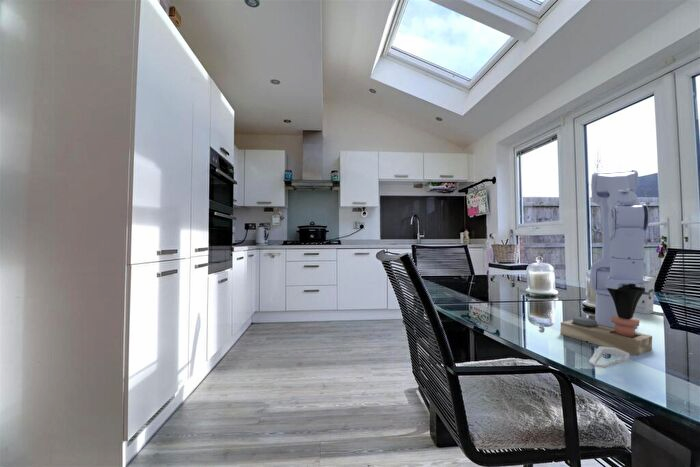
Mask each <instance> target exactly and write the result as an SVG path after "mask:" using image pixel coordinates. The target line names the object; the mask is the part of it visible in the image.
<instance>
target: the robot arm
mask: <svg viewBox="0 0 700 467" xmlns="http://www.w3.org/2000/svg"><path fill="white" fill-rule="evenodd" d="M638 184H639V172H638V171H637V170H636V169H635V168H633V169H630V170H629V169H628V170H614V171H603V172H602V171H601V172H600V171H599V172H598V171H594V173H593V174H591V184H590V188H591V189H590V190H591V200H592V203H594V204H595V205H598V206H599V207H600V211H601V225H602V226H601V229H602V230H601V231H602V232H601V234H602V237H601V238H602V240H601V242H602V243H601V244H602V245H601V246H602V258H601V259H599V260H597V261H595V262H593V263H592V264H591V266H590V272H589V273H590V274H589V288H590V290H591V291H592V292H595V307H594V308H595V314H594V317H595V318H594V320H596V321H597V323H598V324H602V325H607V326H611V327H615V323H613V322H611V316H618V317H620V318H625V319H632V318H634V316H635V315H634V314H635V312H634V311H635V308H636V305H637V303H638V301H639V299H640V297H641V296H642V294H643V293H644V292H645V288H642V287H638V284H641V285H645V283H650V280H646V279H645V276H644V267H645V266H644V259H645V232H646V231H647V230H648V228H649V225H650V224H649V223H650V211H649V207H648V204H641V202H640V200H639V198H638V195H637V194H636V191H637V189H638ZM634 319H635V318H634ZM637 327H639V326H635V328H637Z"/></svg>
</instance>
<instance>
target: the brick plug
mask: <svg viewBox="0 0 700 467" xmlns="http://www.w3.org/2000/svg"><path fill="white" fill-rule="evenodd" d="M611 322H613V323H615V334H617V335H621V336H625V337H635V331H636V330H635V329H636V327H635V326H638V327H639V326H640V320H639V319H637V318H632V319H625V318H620V317H618V316H611Z"/></svg>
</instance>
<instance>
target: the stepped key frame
mask: <svg viewBox="0 0 700 467" xmlns="http://www.w3.org/2000/svg"><path fill="white" fill-rule="evenodd" d="M604 354H606V355H607V354H608V355H609V354H610V355H614V356H615V355H616V356H618V357H617V358H616V359H614V358H612V360H608V361H607V362H605V363H602V364H597V362H598V361H599V360H600V358H601V357H602V356H603V355H604ZM629 360H630V354H629V353H627V352H625V351H622V350H620V349H617V348H613V347H604V346H600V345H598V347H597V349H595V352H594V353H593V354H592V356H591V357H590V359H589V360H588V364H590V365H591V366H594V367H597V368H603V369H606V368H608V367H611V365H613V366H614V365H615V364H621V363H622V362H624V363H628V361H629Z"/></svg>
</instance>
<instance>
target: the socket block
mask: <svg viewBox="0 0 700 467" xmlns="http://www.w3.org/2000/svg"><path fill="white" fill-rule="evenodd" d="M559 333H560V335H562V336H565V337H569V338H573V339H576V340H580V341H583V342H586V341H588V342H587V343H590V344H594V345H597V346H601V347H613V348H617V349H620V350H622V351H625V352H627V353H629V355H632V356H636V357H637V356H639V355H642V354H644V353H647V352H649V351H652V349H653V335H649V334H645V333H641V332H637V331H636V332H635V337H625V336H621V335H617V334H615V327H611V326H607V325H602V324H598V323H597V326H594V327H592V328H588V327H584V326H580V325H576V324H575V323H573V319H569V320H566V321H562V322H560V332H559Z"/></svg>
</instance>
